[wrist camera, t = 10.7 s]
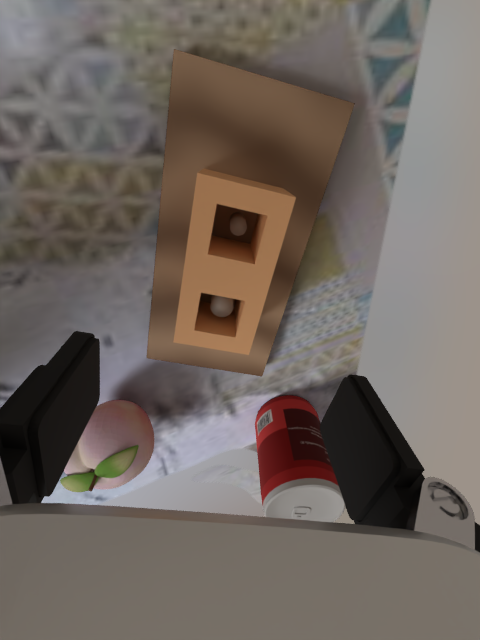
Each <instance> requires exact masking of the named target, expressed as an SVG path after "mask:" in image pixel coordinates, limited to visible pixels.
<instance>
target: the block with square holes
mask: <svg viewBox="0 0 480 640" xmlns="http://www.w3.org/2000/svg"><path fill="white" fill-rule="evenodd" d="M295 200H296V197H295V196H293V195H292V194H291V193H289V192H288V191H286V190H285V189H283V188H280V187H276V186H272V185H268V184H264V183H260V182H256V181H252V180H248V179H244V178H240V177H236V176H232V175H228V174H224V173H220V172H216V171H212V170H208V169H202V170H201V171H199V172H198V173H197V178H196V185H195V192H194V199H193V206H192V214H191V221H190V228H189V235H188V242H187V249H186V256H185V263H184V270H183V277H182V284H181V291H180V299H179V306H178V313H177V320H176V327H175V334H174V341H173V342H174V343H180V344H186V345H192V346H198V347H204V348H210V349H216V350H222V351H228V352H234V353H240V354H246V355H249V353H250V350H251V346H252V343H253V340H254V336H255V333H256V330H257V326H258V323H259V320H260V316H261V313H262V310H263V306H264V303H265V300H266V296H267V293H268V290H269V286H270V283H271V280H272V276H273V273H274V270H275V266H276V263H277V260H278V256H279V253H280V250H281V246H282V243H283V240H284V236H285V233H286V230H287V226H288V223H289V220H290V216H291V213H292V210H293V206H294V203H295ZM217 204H220V205H224V206H228V207H233V208H237V209H241V210H245V211H250V212H254V213H258V215H257V219H256V223H255V227H254V231H253V235H252V239H251V243H250V244H248V243H244V242H239V241H234V240H230V239H225V238H221V237H216V236H212V231H213V226H214V220H215V214H216V209H217ZM201 293H206V294H211V295H217V296H222V297H227V298H232V299H237V300H236V304H235V308H234V307H233V311H232V313H231V314H230V315H228V316H226V317H218V316H216V315H214V314H213V313H212V311H211V308H210V305H211V303H207V302H202V301H200V298H201Z"/></svg>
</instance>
